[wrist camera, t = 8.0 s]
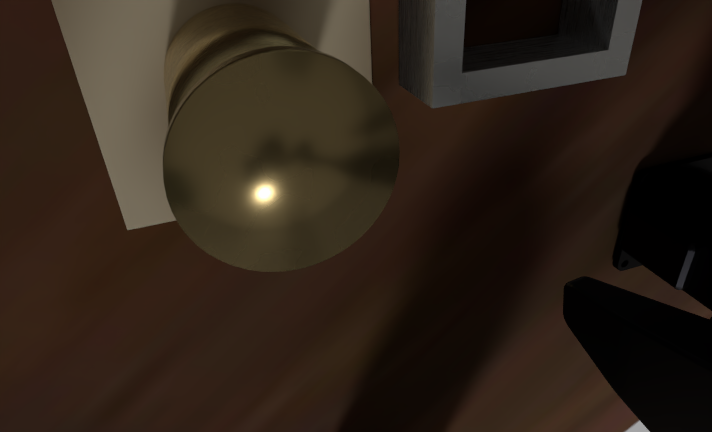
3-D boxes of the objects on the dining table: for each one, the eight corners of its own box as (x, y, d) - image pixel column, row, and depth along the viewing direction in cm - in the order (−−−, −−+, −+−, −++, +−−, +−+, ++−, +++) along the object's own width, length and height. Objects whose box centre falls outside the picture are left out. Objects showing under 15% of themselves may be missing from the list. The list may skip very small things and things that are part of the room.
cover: (306, -11, 18) (399, 35, 11) (319, 137, 20) (400, 244, 14) (138, 6, 16) (132, 71, 10) (177, 162, 19) (193, 294, 13)
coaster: (362, -93, 17) (366, -93, 17) (371, 175, 23) (375, 179, 22) (30, -72, 15) (27, -72, 15) (127, 224, 20) (127, 230, 20)
